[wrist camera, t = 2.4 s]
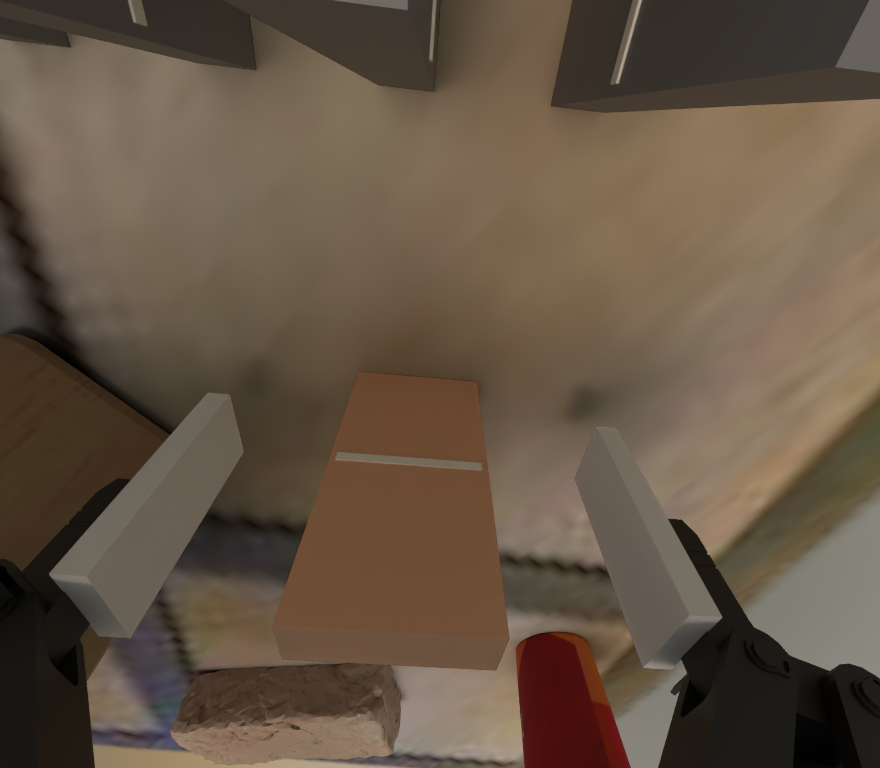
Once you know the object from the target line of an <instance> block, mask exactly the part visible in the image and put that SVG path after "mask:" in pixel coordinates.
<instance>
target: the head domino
mask: <svg viewBox="0 0 880 768" xmlns="http://www.w3.org/2000/svg"><path fill="white" fill-rule="evenodd" d="M272 626H273V629H274V633H275V637H276V640H277V644H278V647H279V651H280V655H281V658H282V659H284V660H303V661H322V662H342V663H361V664H380V665H400V666H419V667H438V668H458V669H477V670H497V668H498V665H499V663H500V660H501V658H502V655H503V653H504V651H505V648H506V646H507V643H508V641H509V631H508V623H507V615H506V607H505V599H504V591H503V584H502V576H501V568H500V560H499V552H498V544H497V536H496V528H495V521H494V513H493V505H492V497H491V489H490V481H489V473H488V466H487V458H486V450H485V442H484V434H483V426H482V418H481V410H480V403H479V395H478V387H477V382H473V381H461V380H450V379H438V378H427V377H415V376H404V375H392V374H381V373H369V372H358V375H357V378H356V381H355V384H354V387H353V390H352V393H351V395H350V398H349V401H348V404H347V407H346V410H345V413H344V416H343V419H342V422H341V425H340V428H339V431H338V434H337V437H336V440H335V443H334V445H333V448H332V451H331V454H330V457H329V460H328V463H327V466H326V469H325V472H324V475H323V478H322V481H321V484H320V487H319V490H318V493H317V496H316V498H315V501H314V504H313V507H312V510H311V513H310V516H309V519H308V522H307V525H306V528H305V531H304V534H303V537H302V540H301V543H300V546H299V548H298V551H297V554H296V557H295V560H294V563H293V566H292V569H291V572H290V575H289V578H288V581H287V584H286V587H285V590H284V593H283V596H282V599H281V601H280V604H279V607H278V610H277V613H276V616H275V619H274V622H273V625H272Z"/></svg>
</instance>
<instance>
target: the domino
mask: <svg viewBox="0 0 880 768" xmlns="http://www.w3.org/2000/svg"><path fill="white" fill-rule="evenodd" d="M865 99H880V0H573V2H572V7H571V12H570V16H569V21H568V26H567V31H566V36H565V40H564V45H563V50H562V55H561V60H560V64H559V69H558V74H557V79H556V84H555V88H554V93H553V98H552V103H551V106H554V107H562V108H571V109H579V110H587V111H595V112H603V113H608V112H628V111H647V110H667V109H687V108H707V107H726V106H746V105H766V104H786V103H806V102H825V101H845V100H865Z"/></svg>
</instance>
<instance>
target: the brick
mask: <svg viewBox="0 0 880 768" xmlns="http://www.w3.org/2000/svg"><path fill="white" fill-rule="evenodd" d="M400 714H401V707H400V691H399V690H398V688H397V686H395V681H394V677H393V671H392V670H391V668H390V666H389V665H380V664H361V663H346V664H340V665H308V666H284V667H274V668H268V667H258V668H240V669H227V670H220V671H217V672H214V673H205V674H203V675H201V676H199V677H198V678H196V679H195V680H194V681H193V683H192V684H191V685H190V687H189V689H188V692H187V694H186V696H185V698H184V699H183V701H182V702H181V704H180V707H179V709H178V712H177V718H176V719H175V721H174V723H173V726H172V728H171V731H170V732H171V735H172V737H173V739H174V740H175V741H176V742H177V743H178V745H180V746H182V747H183V748H186V749H187V750H191V751H192V752H193V753H194V754H196V755H198V754H200V755H202V756H204V758H205V759H207V760H211V761H213V762H214V764H226V765H234V764H249V765H252V764H254V763H267V762H269V761H274V760H279V759H282V758H285V757H288V758H292V759H293V758H326V759H346V760H347V759H351V758H356V757H358V756H360V757H363V758H367V757H370V756H379V757H383V756H388V755H390V754H391V753H392V752H393V750H394V742H395V740H396V738H397V737H398V732H399V727H400Z"/></svg>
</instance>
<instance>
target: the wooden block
mask: <svg viewBox="0 0 880 768" xmlns="http://www.w3.org/2000/svg"><path fill="white" fill-rule="evenodd" d="M169 436H170V435H169V434H168V433H166V432H165V431H164V430H162V429H161V428H159V427H158V426H156V425H155V424H154V423H152V422H151V421H149V420H148V419H146V418H145V417H144V416H142V415H141V414H139V413H138V412H137V411H135V410H134V409H132V408H131V407H129V406H128V405H127V404H125V403H124V402H122V401H121V400H120V399H118V398H117V397H115V396H114V395H112V394H111V393H110V392H108V391H107V390H105V389H104V388H102V387H101V386H100V385H98V384H97V383H95V382H94V381H93V380H91V379H90V378H88V377H87V376H85V375H84V374H83V373H81V372H80V371H78V370H77V369H76V368H74V367H73V366H71V365H70V364H68V363H67V362H66V361H64V360H63V359H61V358H60V357H59V356H57V355H56V354H54V353H53V352H51V351H50V350H49V349H47V348H46V347H44V346H43V345H41V344H40V343H39V342H37V341H35V340H33V339H30V338H28V337H25V336H22V335H20V334H17V333H14V334H8V335H2V336H0V559H6V560H8V561H11V562H13V563H14V564H15V565H16V566H17V567H18V568H19V570H20V571H21V572H22V571H23V570H24V569H25V568H26V567H27V566H28V564H29V563H30V562H31V561H32V560H33V559H34V558H35V557H36V556H37V555H38V554H39V553H40V552H41V551H42V550H43V549H44V547H45V546H46V545H47V544H48V543H49V542H50V541H51V540H52V539H53V538H54V537H55V536H56V535H57V534H58V533H59V532H60V530H61V529H62V528H63V527H64V526H65V525H68V524H69V521H70V520H71V519H72V518H73V517H74V516H75V515H76V513H77V512H78V511H81V510H82V507H83V506H84V505H85V504H86V503H87V502H88V501H89V500H90V499H91V497H92V496H93V495H94V494H95V493H96V492H97V491H99V490H100V489H102V488H103V487H105V486H106V485H108V484H109V483H111V482H113V481H114V480H116V479H117V478H121V479H132V478H133V477H134V476H135V475H136V474H137V473H138V471H139V470H140V469H141V468H142V467H143V466H144V465H145V463H146V462H147V461H148V460H149V459H150V458H151V457H152V455H153V454H154V453H155V452H156V451H157V450H158V449H159V447H160V446H161V445H162V444H163V443H164V442H165V441H166V439H167V438H168V437H169ZM114 638H115V637H102V636H98V635H97V634H96V632H95V631H94V630H93V629H92V627H91V626H90V625H89V626H88V628H87V629H86V631H85V632H84V633H83V635H82V636H81V638H80V641H81V643H82V645H83V651H84V661H85V672H86V682H87V680H88V679H89V677H90V675H91V674H92V672H93V671H94V669H95V668H96V666H97V664H98V663H99V661H100V660H101V658H102V657H103V655H104V653H105V652H106V650H107V649H108V647H109V646H110V644H111V642H112V641H113V639H114Z"/></svg>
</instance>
